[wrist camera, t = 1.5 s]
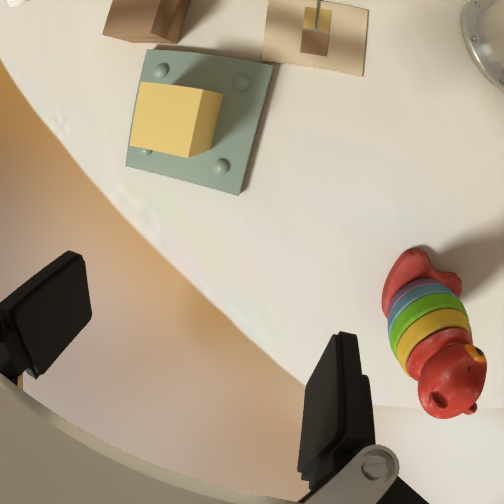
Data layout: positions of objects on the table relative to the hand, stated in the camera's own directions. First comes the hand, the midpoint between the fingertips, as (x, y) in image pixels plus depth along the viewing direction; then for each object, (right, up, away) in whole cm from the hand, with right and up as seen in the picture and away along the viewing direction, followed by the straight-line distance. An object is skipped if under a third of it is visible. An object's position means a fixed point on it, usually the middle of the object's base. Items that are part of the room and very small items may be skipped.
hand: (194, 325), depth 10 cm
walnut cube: (-8, +28, +14) cm, 33 cm away
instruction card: (+8, +25, +12) cm, 29 cm away
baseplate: (-4, +17, +19) cm, 25 cm away
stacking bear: (+22, -3, +23) cm, 32 cm away
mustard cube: (-4, +16, +18) cm, 25 cm away
